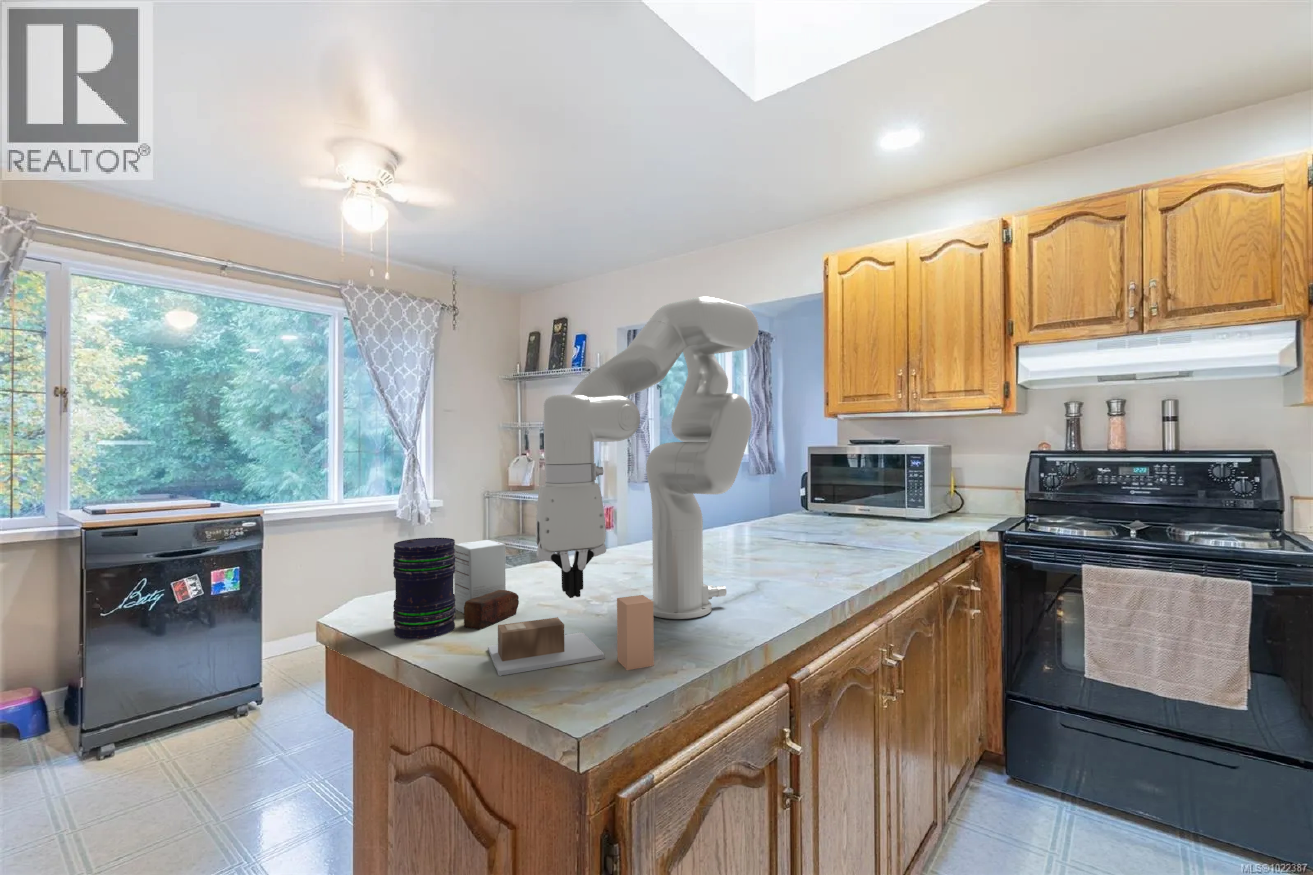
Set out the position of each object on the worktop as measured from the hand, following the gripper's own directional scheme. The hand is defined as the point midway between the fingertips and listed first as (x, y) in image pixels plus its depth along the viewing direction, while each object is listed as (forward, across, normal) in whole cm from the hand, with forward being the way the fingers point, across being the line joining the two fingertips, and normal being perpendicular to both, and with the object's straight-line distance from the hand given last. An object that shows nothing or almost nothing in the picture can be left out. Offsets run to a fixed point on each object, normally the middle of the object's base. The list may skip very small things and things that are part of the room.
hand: (572, 595), depth 87 cm
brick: (+9, +10, -20) cm, 24 cm away
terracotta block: (+8, -6, +9) cm, 14 cm away
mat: (+8, +5, 0) cm, 9 cm away
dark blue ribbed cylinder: (+8, +21, -19) cm, 30 cm away
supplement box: (+8, +11, -28) cm, 32 cm away
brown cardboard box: (+6, +2, 0) cm, 6 cm away
